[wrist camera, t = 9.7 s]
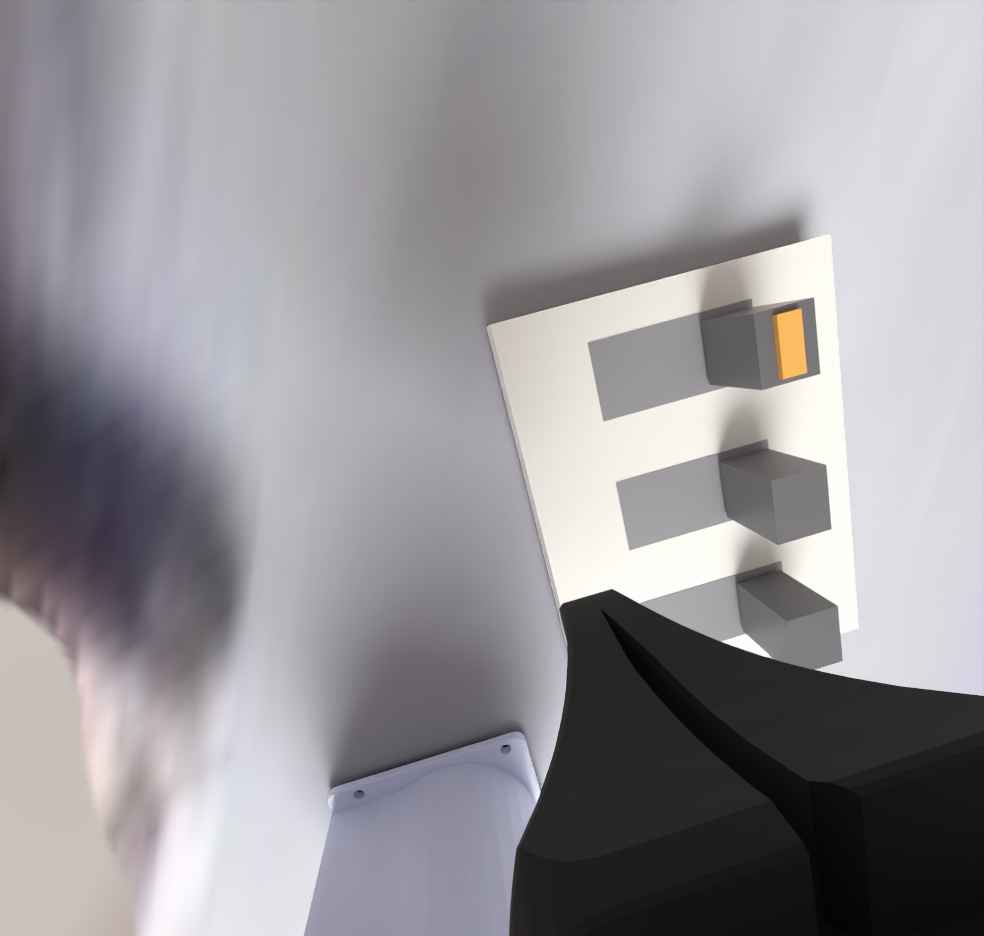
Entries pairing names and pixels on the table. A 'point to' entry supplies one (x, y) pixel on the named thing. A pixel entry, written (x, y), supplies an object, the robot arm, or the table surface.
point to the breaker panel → (689, 458)
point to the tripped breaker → (762, 345)
